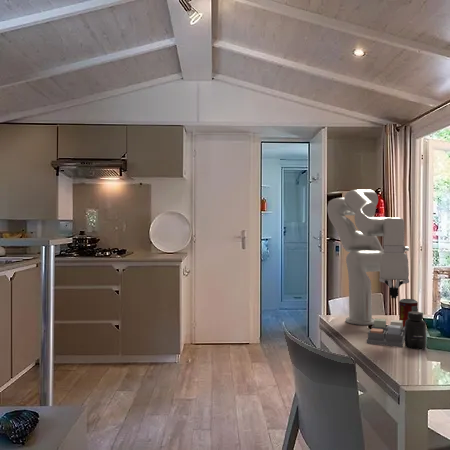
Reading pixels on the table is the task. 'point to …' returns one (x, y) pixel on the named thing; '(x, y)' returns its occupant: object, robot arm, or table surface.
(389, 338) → the keypad
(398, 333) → the slate key
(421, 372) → the table surface
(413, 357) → the table surface
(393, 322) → the ivory key
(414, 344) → the supplement bottle
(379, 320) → the sage key
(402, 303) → the soda can
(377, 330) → the terracotta key
